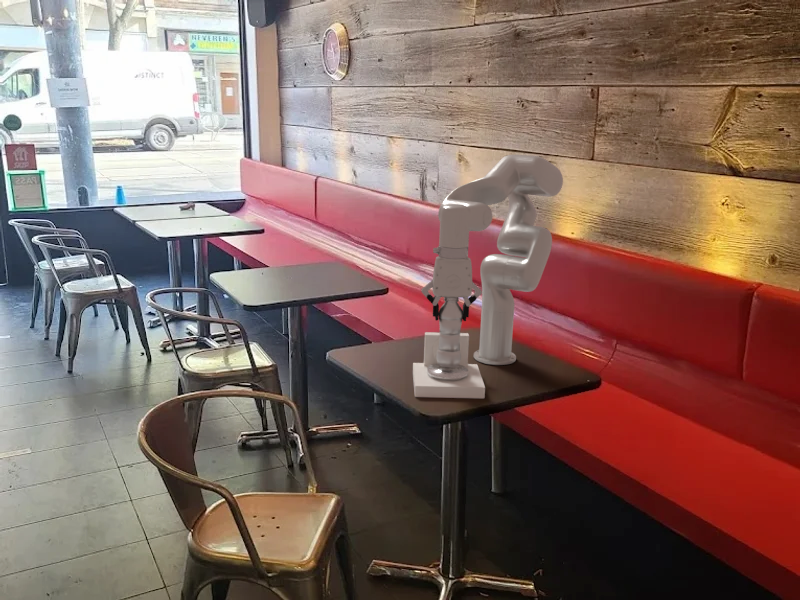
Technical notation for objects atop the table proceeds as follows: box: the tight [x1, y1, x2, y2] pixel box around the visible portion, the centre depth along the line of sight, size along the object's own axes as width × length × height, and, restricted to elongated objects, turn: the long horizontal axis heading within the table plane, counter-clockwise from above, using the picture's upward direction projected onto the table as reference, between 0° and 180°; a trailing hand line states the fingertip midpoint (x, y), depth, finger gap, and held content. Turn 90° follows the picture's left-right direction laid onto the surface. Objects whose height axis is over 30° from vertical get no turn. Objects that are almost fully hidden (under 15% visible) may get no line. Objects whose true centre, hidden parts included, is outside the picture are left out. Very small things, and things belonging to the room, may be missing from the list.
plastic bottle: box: [436, 297, 463, 367], centre depth 198 cm, size 6×7×20 cm
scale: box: [412, 331, 486, 399], centre depth 201 cm, size 18×18×12 cm
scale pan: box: [427, 363, 468, 380], centre depth 201 cm, size 11×11×1 cm
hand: (450, 318), depth 197 cm, fingers open, 6 cm apart
